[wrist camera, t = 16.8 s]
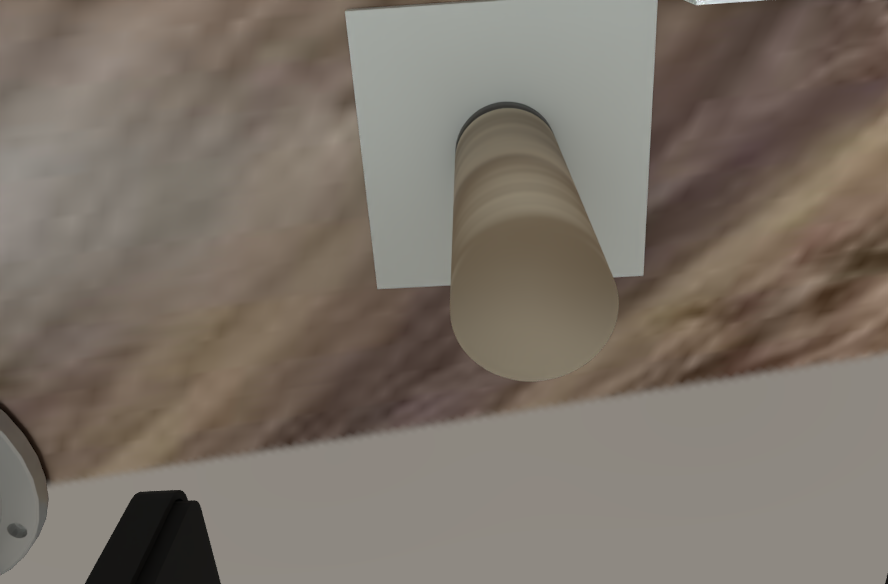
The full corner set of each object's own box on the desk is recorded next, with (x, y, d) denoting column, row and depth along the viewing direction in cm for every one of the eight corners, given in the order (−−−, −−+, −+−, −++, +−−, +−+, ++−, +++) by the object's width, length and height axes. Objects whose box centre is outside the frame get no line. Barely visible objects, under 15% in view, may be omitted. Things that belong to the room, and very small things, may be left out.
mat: (639, 268, 29) (643, 275, 29) (378, 282, 30) (377, 288, 29) (653, -12, 25) (658, -11, 24) (347, 9, 25) (345, 11, 25)
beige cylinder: (556, 196, 27) (616, 377, 17) (458, 202, 28) (454, 385, 17) (555, 98, 26) (621, 226, 15) (452, 104, 26) (444, 236, 15)
